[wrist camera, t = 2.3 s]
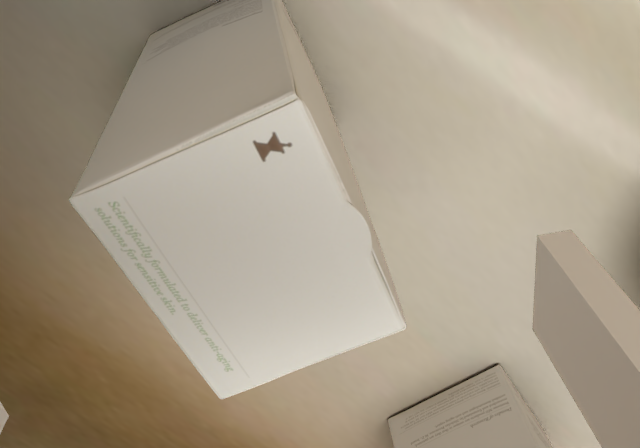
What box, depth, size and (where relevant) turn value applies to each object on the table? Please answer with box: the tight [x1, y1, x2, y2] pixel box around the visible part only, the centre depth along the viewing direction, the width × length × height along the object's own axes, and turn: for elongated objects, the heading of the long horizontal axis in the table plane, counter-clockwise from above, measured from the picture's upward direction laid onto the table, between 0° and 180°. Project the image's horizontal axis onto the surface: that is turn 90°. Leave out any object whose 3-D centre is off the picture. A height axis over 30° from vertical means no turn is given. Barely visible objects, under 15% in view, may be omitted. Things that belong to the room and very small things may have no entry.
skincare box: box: [69, 0, 407, 399], centre depth 22 cm, size 8×7×16 cm
